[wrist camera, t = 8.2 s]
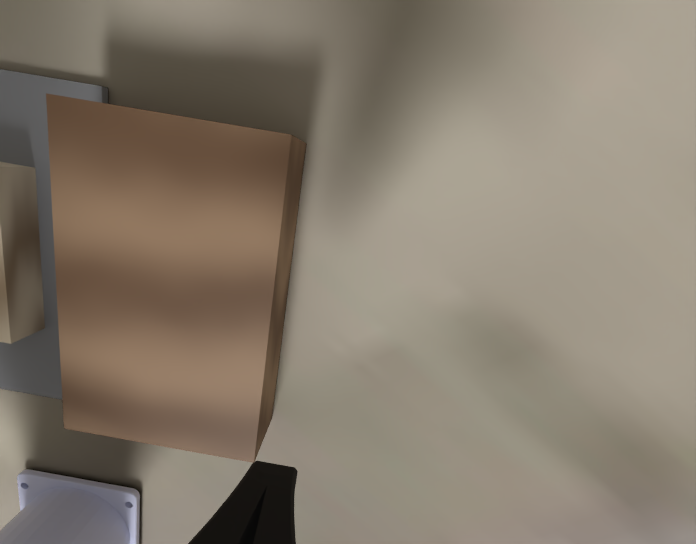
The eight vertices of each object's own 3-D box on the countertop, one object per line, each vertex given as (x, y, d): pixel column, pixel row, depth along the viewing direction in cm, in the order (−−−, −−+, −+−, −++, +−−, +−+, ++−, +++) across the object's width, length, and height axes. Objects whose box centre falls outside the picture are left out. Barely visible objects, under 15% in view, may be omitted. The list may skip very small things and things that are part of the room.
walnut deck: (272, 418, 21) (253, 462, 18) (111, 389, 22) (63, 428, 18) (306, 143, 17) (291, 134, 14) (108, 110, 18) (45, 93, 14)
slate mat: (111, 403, 22) (107, 407, 21) (-77, 370, 22) (-84, 373, 22) (107, 88, 17) (101, 86, 17) (-130, 48, 17) (-142, 45, 17)
